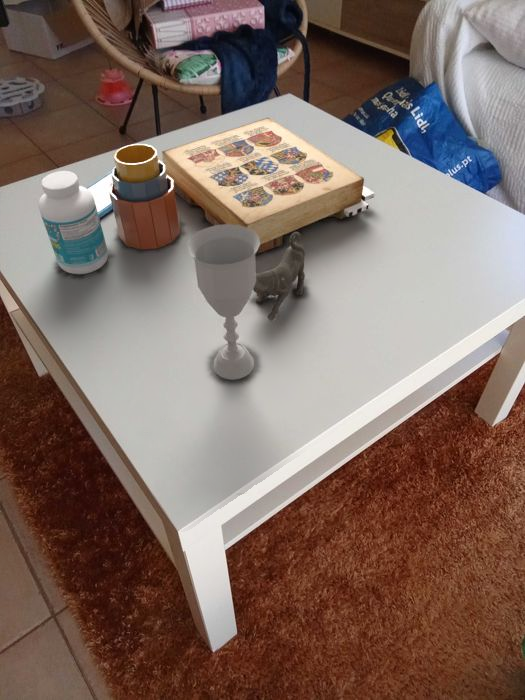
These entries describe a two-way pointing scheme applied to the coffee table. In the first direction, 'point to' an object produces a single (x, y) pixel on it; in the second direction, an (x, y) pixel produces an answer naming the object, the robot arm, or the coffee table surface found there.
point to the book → (264, 181)
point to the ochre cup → (137, 163)
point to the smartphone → (102, 194)
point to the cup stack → (145, 210)
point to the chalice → (227, 286)
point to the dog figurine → (282, 276)
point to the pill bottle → (72, 223)
